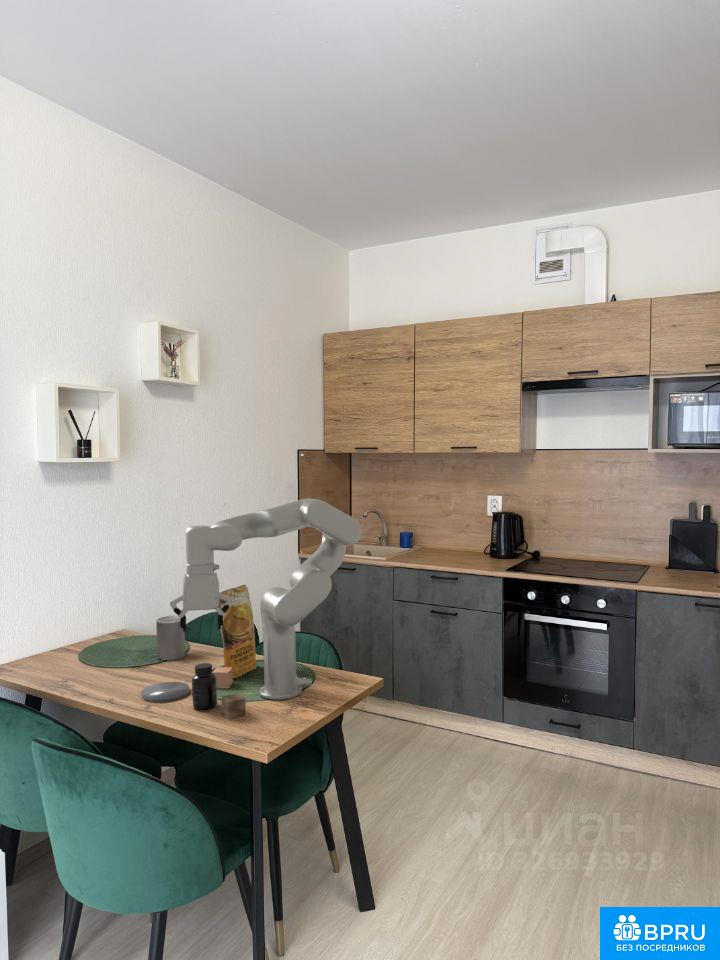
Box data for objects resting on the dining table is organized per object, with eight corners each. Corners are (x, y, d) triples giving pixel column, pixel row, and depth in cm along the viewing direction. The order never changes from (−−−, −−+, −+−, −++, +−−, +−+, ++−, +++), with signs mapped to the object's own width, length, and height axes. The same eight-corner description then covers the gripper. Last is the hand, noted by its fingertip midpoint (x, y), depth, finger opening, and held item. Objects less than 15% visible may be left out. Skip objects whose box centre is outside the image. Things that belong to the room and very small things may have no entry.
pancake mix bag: (211, 680, 217) (208, 593, 216) (248, 663, 233) (246, 582, 232) (227, 683, 214) (225, 594, 212) (264, 665, 230) (262, 583, 229)
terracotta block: (232, 683, 214) (232, 667, 214) (228, 688, 209) (228, 672, 209) (217, 683, 214) (216, 667, 214) (212, 688, 209) (212, 672, 209)
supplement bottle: (207, 700, 199) (205, 660, 198) (222, 706, 195) (221, 664, 194) (187, 707, 194) (186, 666, 193) (202, 713, 189) (201, 670, 189)
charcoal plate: (190, 683, 214) (190, 680, 214) (188, 699, 200) (188, 695, 200) (143, 687, 211) (143, 683, 211) (138, 704, 197) (138, 700, 197)
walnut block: (239, 710, 191) (238, 692, 191) (245, 716, 187) (245, 698, 187) (222, 714, 189) (221, 696, 188) (228, 720, 184) (227, 702, 184)
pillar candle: (153, 656, 244) (151, 615, 243) (179, 651, 249) (178, 610, 249) (163, 663, 236) (161, 620, 235) (189, 657, 242) (188, 615, 241)
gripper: (231, 565, 198) (233, 624, 199) (169, 568, 194) (171, 628, 195) (231, 570, 190) (233, 630, 191) (167, 573, 187) (169, 635, 188)
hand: (202, 629), depth 193 cm, fingers open, 9 cm apart
